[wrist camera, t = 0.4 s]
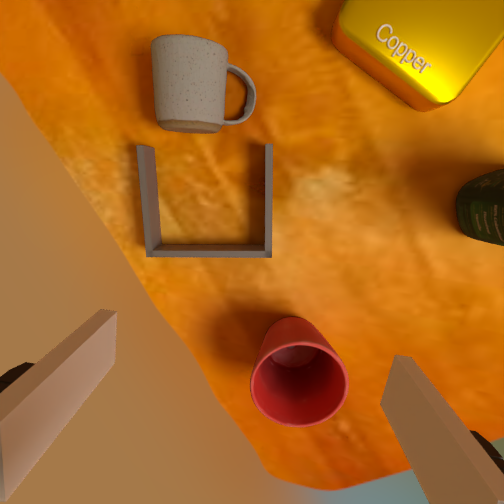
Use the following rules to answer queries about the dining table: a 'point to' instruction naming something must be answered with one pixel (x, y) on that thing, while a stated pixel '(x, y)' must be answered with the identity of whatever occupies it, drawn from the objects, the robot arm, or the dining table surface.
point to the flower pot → (297, 375)
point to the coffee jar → (483, 208)
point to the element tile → (420, 44)
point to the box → (194, 250)
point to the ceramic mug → (193, 84)
